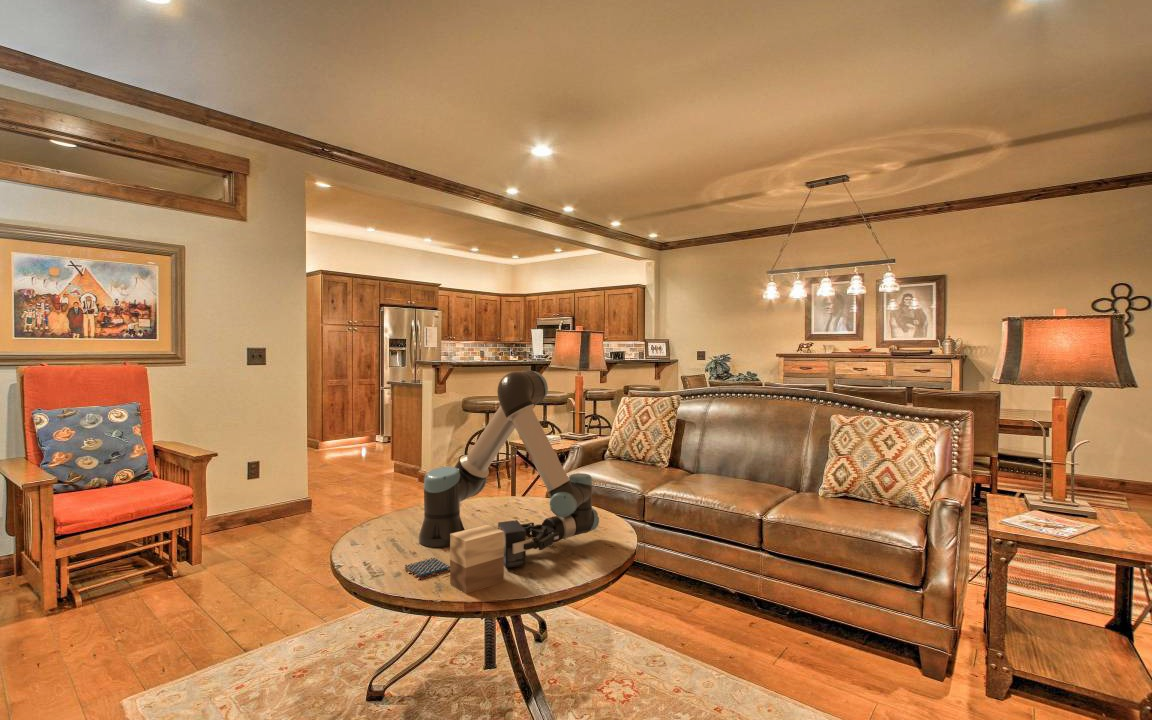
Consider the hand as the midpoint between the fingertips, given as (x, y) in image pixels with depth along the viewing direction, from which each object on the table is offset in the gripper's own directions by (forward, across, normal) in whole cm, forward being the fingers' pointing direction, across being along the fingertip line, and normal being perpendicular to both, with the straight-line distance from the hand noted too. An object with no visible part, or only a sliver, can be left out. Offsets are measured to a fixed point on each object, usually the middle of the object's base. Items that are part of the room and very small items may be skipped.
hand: (501, 543), depth 164 cm
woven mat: (+17, +12, -8) cm, 23 cm away
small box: (-4, 0, -6) cm, 7 cm away
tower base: (+11, -5, -7) cm, 14 cm away
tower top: (+11, -5, 0) cm, 12 cm away
